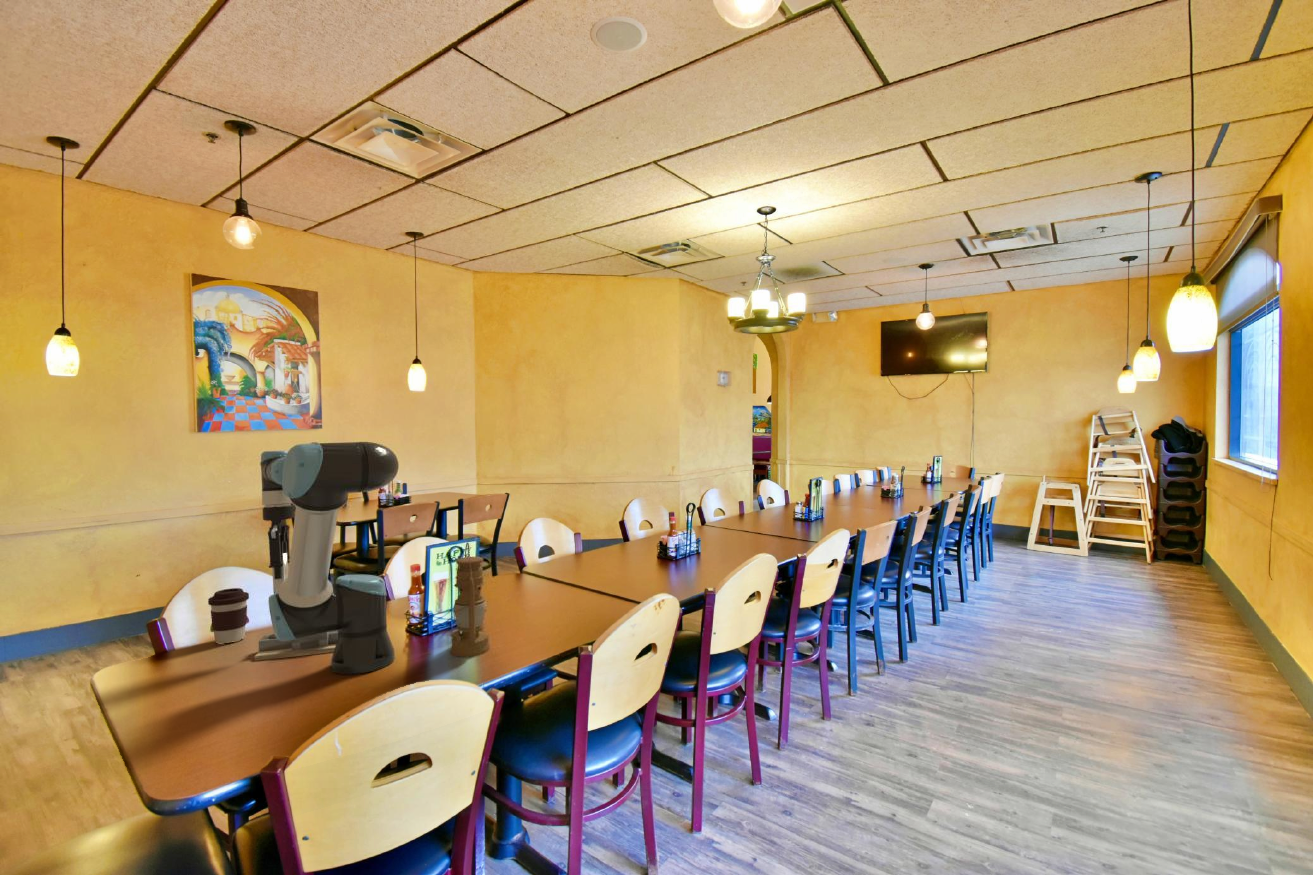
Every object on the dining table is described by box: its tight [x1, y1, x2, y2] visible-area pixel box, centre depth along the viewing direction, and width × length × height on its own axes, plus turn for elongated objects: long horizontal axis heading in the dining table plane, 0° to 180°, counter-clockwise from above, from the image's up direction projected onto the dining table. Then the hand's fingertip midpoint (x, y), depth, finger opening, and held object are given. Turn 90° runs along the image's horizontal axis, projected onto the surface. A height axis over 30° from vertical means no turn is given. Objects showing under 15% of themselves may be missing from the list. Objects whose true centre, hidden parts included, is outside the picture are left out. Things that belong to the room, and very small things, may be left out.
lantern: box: [450, 542, 491, 658], centre depth 169 cm, size 15×10×30 cm
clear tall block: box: [273, 552, 289, 594], centre depth 171 cm, size 4×4×12 cm
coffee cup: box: [207, 587, 250, 643], centre depth 181 cm, size 10×10×15 cm
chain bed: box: [254, 630, 338, 662], centre depth 173 cm, size 12×26×5 cm, turn 107°
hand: (281, 588), depth 170 cm, fingers closed on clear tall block, 3 cm apart
